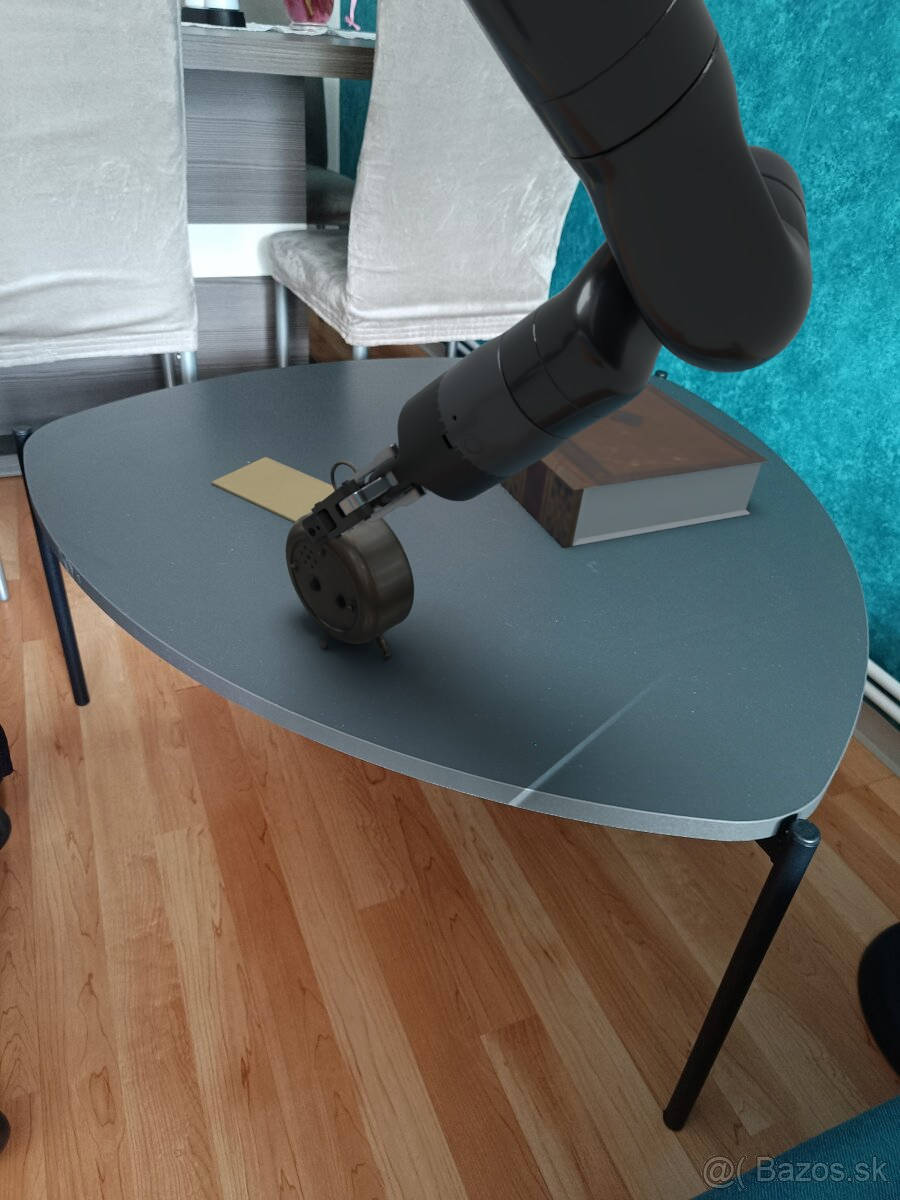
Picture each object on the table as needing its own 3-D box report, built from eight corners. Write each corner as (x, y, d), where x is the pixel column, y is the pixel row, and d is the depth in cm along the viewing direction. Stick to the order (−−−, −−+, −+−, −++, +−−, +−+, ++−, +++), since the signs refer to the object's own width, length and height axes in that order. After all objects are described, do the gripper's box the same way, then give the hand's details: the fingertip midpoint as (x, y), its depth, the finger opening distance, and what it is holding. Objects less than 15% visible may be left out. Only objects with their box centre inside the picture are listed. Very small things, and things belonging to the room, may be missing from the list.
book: (562, 547, 83) (574, 490, 79) (448, 430, 103) (453, 379, 99) (750, 514, 92) (769, 460, 89) (612, 412, 112) (622, 365, 109)
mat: (297, 524, 82) (297, 521, 82) (211, 484, 87) (211, 481, 87) (349, 495, 88) (349, 492, 88) (265, 459, 93) (265, 456, 93)
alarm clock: (413, 657, 67) (427, 479, 58) (363, 687, 64) (370, 503, 55) (325, 596, 73) (325, 425, 64) (275, 621, 70) (268, 443, 60)
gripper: (516, 336, 55) (368, 445, 67) (384, 396, 45) (237, 512, 57) (573, 434, 56) (417, 525, 68) (456, 514, 46) (297, 604, 58)
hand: (336, 519), depth 62 cm, fingers closed on alarm clock, 5 cm apart
